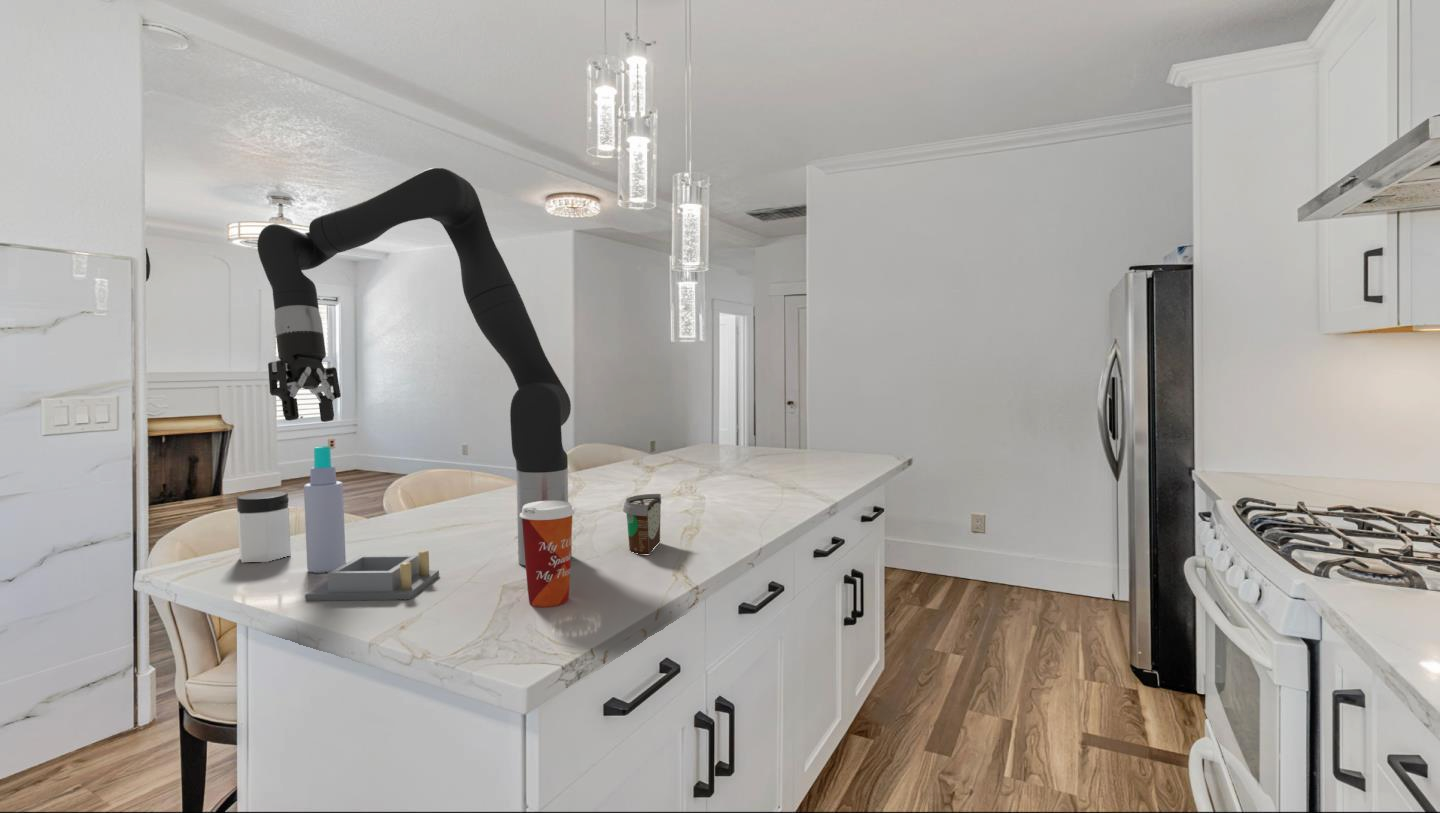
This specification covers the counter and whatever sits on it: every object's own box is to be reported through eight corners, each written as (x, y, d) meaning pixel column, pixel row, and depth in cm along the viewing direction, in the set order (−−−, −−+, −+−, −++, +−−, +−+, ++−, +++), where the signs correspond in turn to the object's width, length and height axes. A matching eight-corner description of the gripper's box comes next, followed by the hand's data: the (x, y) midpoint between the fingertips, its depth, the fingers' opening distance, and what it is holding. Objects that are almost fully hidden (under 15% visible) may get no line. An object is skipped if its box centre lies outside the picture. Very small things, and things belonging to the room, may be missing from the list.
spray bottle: (309, 576, 120) (304, 450, 119) (305, 567, 125) (300, 446, 124) (348, 569, 124) (343, 447, 122) (343, 562, 129) (338, 444, 127)
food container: (632, 540, 144) (632, 492, 143) (661, 541, 143) (661, 493, 142) (615, 556, 132) (614, 504, 131) (647, 557, 131) (646, 505, 130)
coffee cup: (548, 613, 101) (546, 512, 101) (509, 603, 106) (507, 506, 105) (587, 597, 109) (586, 502, 108) (550, 588, 113) (548, 497, 112)
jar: (294, 558, 131) (291, 495, 131) (242, 566, 126) (239, 501, 125) (287, 548, 138) (284, 489, 137) (237, 556, 133) (234, 494, 132)
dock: (439, 576, 120) (438, 547, 119) (409, 599, 108) (408, 568, 108) (345, 577, 120) (344, 548, 119) (305, 600, 108) (304, 569, 107)
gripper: (287, 323, 120) (298, 416, 119) (345, 335, 134) (355, 418, 133) (249, 332, 121) (260, 423, 120) (311, 343, 135) (321, 424, 134)
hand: (310, 420), depth 126 cm, fingers open, 8 cm apart
